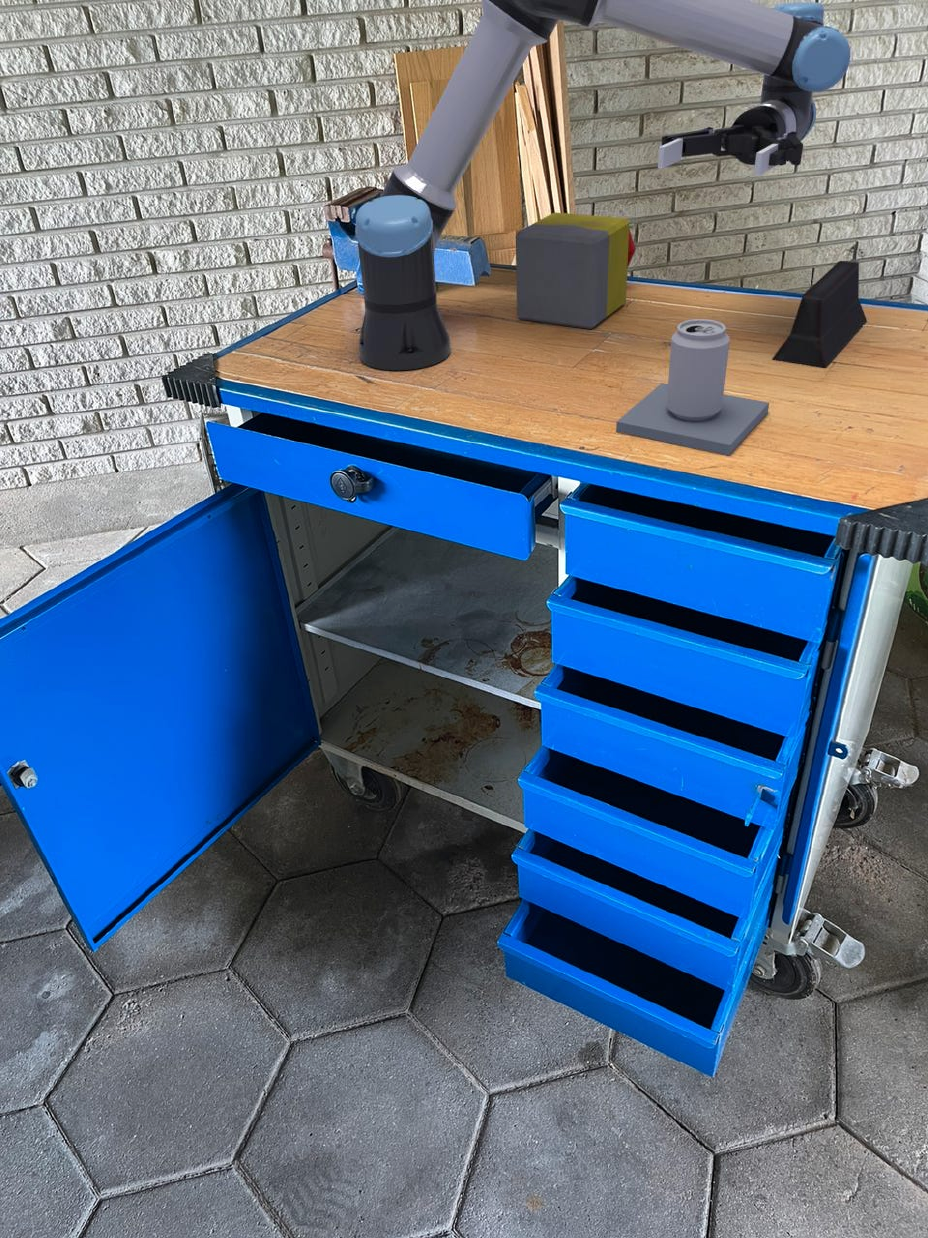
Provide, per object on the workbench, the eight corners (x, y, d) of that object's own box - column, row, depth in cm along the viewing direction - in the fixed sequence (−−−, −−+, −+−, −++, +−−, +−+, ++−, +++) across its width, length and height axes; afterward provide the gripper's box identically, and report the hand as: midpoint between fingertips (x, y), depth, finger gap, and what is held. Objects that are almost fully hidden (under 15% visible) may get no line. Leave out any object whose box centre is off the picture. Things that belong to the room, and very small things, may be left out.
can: (682, 396, 136) (689, 312, 129) (731, 408, 132) (741, 321, 125) (655, 415, 132) (661, 328, 125) (705, 427, 128) (714, 339, 121)
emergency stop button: (646, 289, 181) (651, 204, 172) (593, 330, 164) (595, 239, 155) (573, 281, 187) (574, 199, 179) (515, 320, 171) (513, 231, 162)
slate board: (616, 431, 131) (616, 421, 131) (660, 392, 141) (661, 382, 141) (728, 455, 124) (730, 444, 123) (767, 412, 134) (769, 402, 133)
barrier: (826, 370, 146) (838, 304, 140) (770, 361, 150) (779, 296, 144) (868, 322, 161) (880, 261, 156) (815, 315, 165) (825, 255, 160)
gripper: (842, 165, 139) (796, 198, 125) (680, 155, 151) (622, 184, 137) (852, 107, 135) (805, 134, 121) (684, 101, 147) (624, 125, 133)
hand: (708, 160), depth 129 cm, fingers open, 13 cm apart
